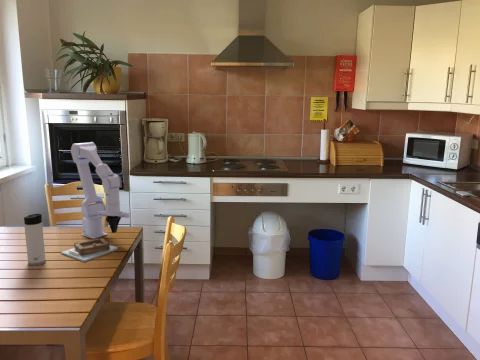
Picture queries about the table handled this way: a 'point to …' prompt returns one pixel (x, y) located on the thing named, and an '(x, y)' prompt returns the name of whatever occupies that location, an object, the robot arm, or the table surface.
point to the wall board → (87, 257)
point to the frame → (91, 246)
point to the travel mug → (34, 239)
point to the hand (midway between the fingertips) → (114, 232)
